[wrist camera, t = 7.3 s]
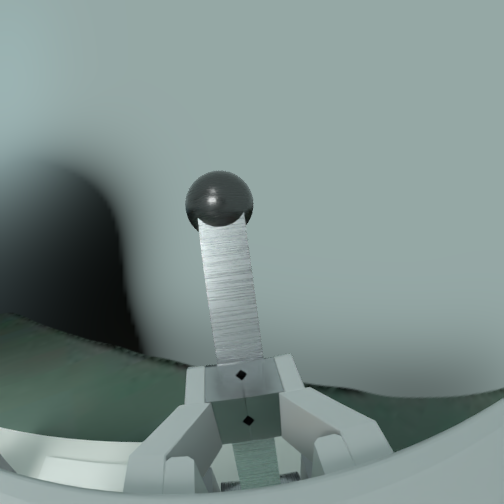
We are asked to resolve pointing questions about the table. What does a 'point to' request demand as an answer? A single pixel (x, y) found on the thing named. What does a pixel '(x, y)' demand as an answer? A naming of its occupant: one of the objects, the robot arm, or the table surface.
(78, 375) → the table surface
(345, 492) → the robot arm
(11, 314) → the table surface
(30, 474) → the switch unit
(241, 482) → the lever
